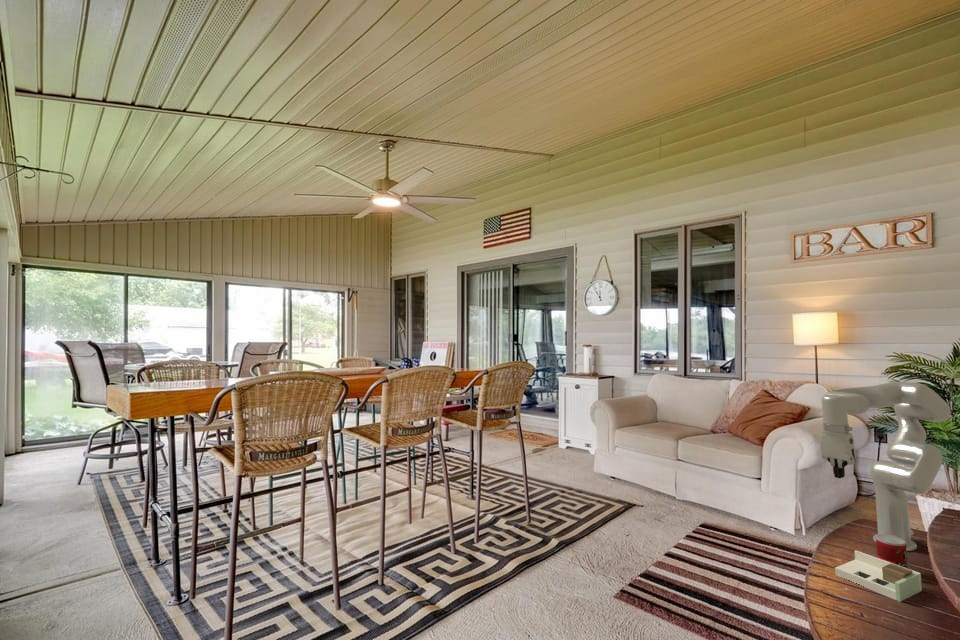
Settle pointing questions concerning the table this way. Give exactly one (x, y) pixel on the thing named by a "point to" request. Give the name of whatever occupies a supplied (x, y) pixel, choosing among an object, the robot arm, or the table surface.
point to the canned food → (891, 549)
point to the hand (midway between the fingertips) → (839, 477)
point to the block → (894, 573)
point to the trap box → (878, 577)
